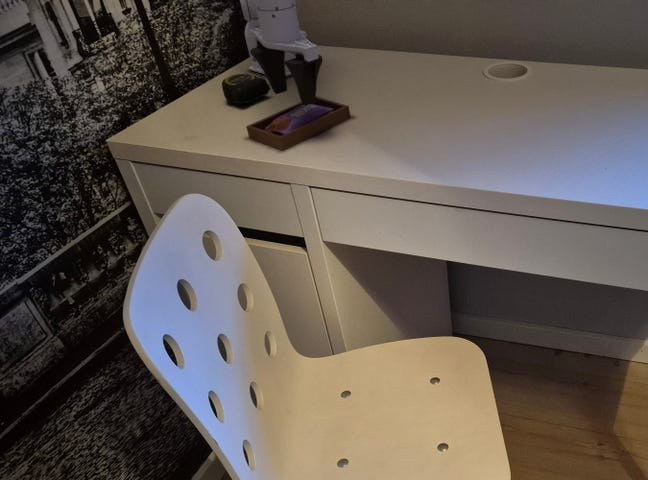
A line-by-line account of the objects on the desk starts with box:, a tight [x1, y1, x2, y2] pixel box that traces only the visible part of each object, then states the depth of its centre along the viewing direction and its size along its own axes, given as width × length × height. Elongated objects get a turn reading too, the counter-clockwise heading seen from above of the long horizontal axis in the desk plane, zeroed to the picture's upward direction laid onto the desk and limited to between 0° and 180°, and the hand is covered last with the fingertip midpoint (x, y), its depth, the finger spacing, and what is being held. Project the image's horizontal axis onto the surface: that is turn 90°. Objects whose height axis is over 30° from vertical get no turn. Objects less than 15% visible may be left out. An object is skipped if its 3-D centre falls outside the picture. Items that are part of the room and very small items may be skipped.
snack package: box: [265, 104, 333, 134], centre depth 111 cm, size 12×2×5 cm
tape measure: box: [221, 73, 271, 104], centre depth 120 cm, size 7×7×4 cm
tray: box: [245, 95, 351, 151], centre depth 111 cm, size 15×8×2 cm, turn 144°
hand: (294, 97), depth 108 cm, fingers open, 7 cm apart
